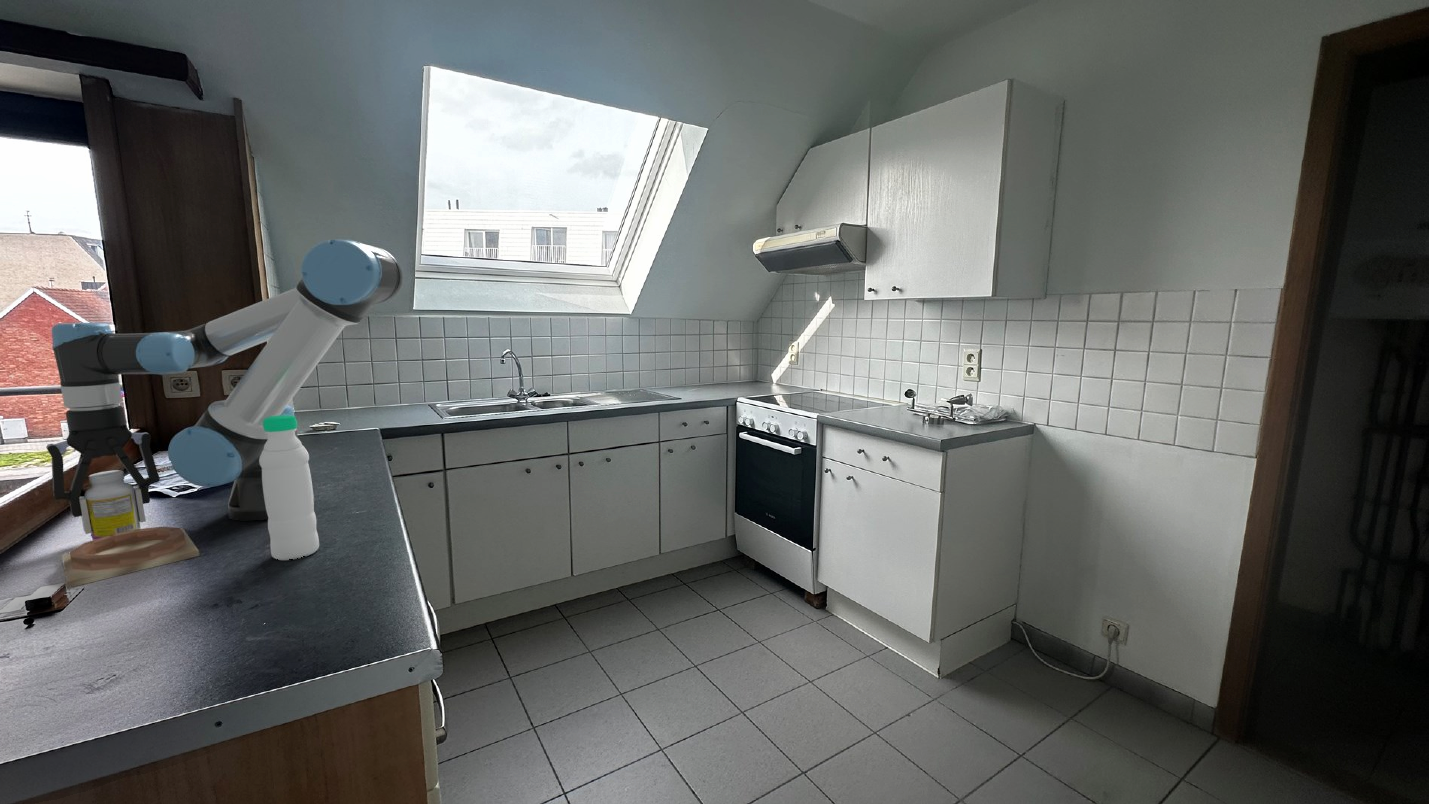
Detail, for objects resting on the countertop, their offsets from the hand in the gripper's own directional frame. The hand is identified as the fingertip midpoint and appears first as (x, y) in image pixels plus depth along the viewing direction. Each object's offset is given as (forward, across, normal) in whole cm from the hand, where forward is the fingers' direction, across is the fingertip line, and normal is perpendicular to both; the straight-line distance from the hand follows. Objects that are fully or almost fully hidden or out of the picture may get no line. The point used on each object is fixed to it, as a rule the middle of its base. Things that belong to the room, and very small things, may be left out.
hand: (115, 525), depth 113 cm
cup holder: (+2, 0, +14) cm, 15 cm away
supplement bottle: (+3, 0, 0) cm, 3 cm away
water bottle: (+3, -19, +35) cm, 40 cm away
